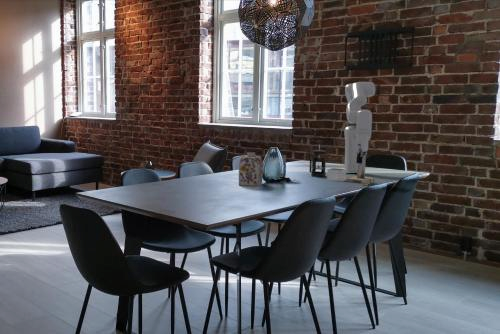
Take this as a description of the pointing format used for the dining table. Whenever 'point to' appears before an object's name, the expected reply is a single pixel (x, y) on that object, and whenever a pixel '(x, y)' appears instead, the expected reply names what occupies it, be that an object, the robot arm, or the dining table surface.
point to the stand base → (336, 174)
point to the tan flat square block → (360, 180)
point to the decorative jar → (250, 170)
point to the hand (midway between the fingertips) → (361, 162)
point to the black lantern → (313, 164)
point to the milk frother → (285, 167)
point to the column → (361, 167)
